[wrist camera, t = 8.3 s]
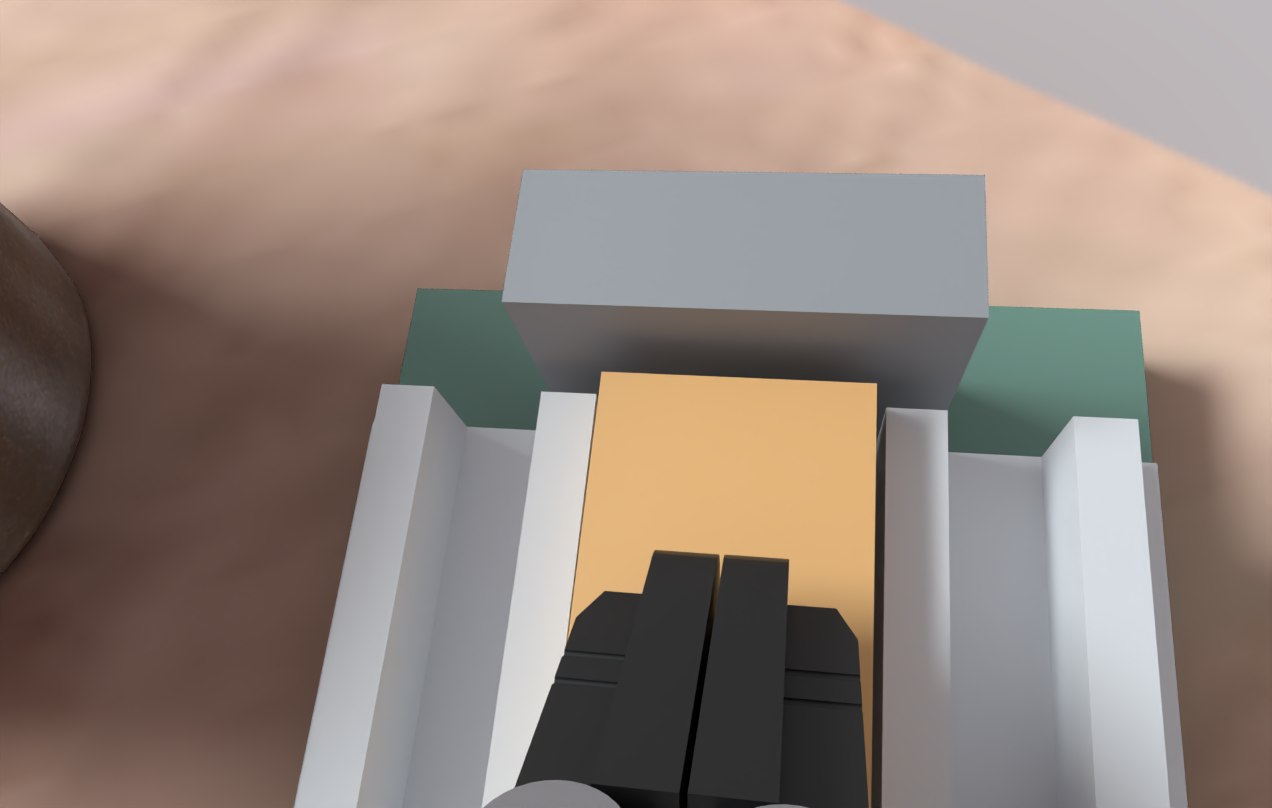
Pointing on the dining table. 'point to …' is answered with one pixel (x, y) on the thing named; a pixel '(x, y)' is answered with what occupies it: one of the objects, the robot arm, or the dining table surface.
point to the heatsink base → (904, 497)
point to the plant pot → (36, 381)
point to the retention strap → (737, 489)
